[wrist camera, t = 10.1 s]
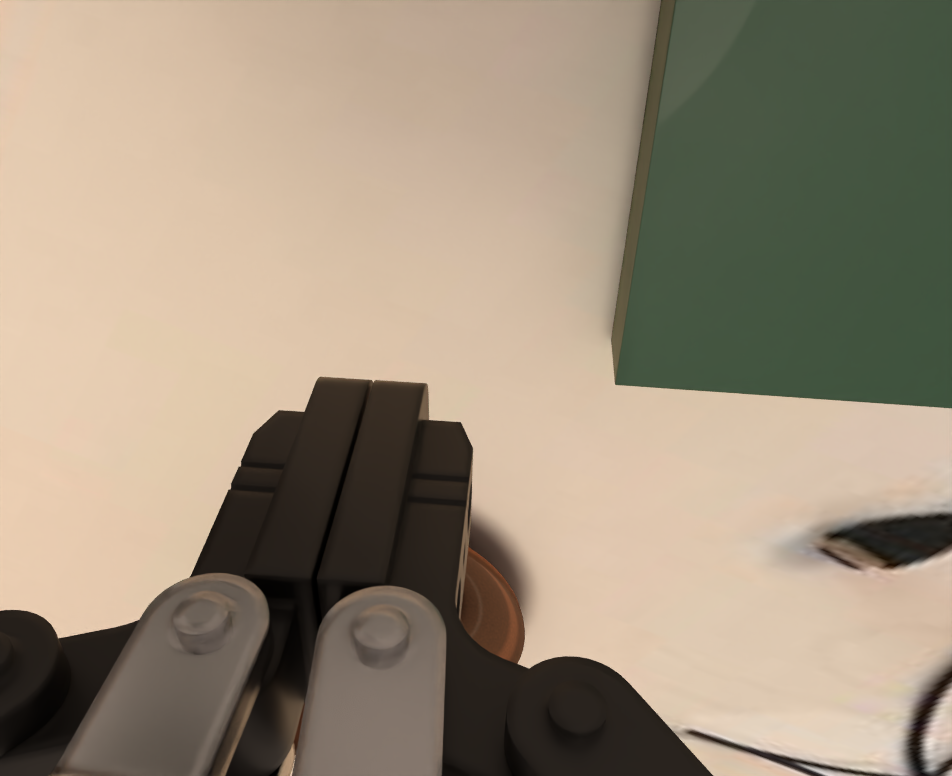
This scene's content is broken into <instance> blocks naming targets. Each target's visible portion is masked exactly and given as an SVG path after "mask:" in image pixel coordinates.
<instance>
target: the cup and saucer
mask: <svg viewBox="0 0 952 776" xmlns="http://www.w3.org/2000/svg"><path fill="white" fill-rule="evenodd" d="M460 621H461V623H462V625H463V627H464V628H465V630H466V631H467V633H468V634H469V635H470V636H471V637H472V639H473V640H475V641H476V642H477V643H478V644H479V645H480V646H481V647H483V648H484V649H486V650H488V651H489V652H491V653H493V654H495V655H497V656H499V657H501V658H503V659H506V660H508V661H511V662H513V663H516V664H517V663H518V661H519V659H520V657H521V654H522V651H523V647H524V640H525V629H524V622H523V616H522V613H521V609H520V606H519V603H518V600H517V598H516V596H515V594H514V592H513V590H512V589H511V587H510V585H509V584H508V582H507V581H506V580H505V579H504V577H503V576H502V575H501V574H500V573H499V572H498V571H497V569H496V568H495V567H494V566H493V565H492V564H490V563H489V562H488V561H487V560H486V559H484V558H483V557H482V556H481V555H479V554H478V553H476V552H475V551H474V550H472V549H471V548H469V547H468V555H467V564H466V573H465V580H464V591H463V600H462V609H461V618H460ZM304 706H305V702H304V705H303V708H302V712H301V716H300V720H299V724H298V727H297V731H296V735H295V739H294V745H295V755H296V751H297V745H298V740H299V734H300V728H301V723H302V717H303V712H304Z"/></svg>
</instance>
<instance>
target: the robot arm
mask: <svg viewBox="0 0 952 776" xmlns="http://www.w3.org/2000/svg"><path fill="white" fill-rule="evenodd" d="M472 465H473V447H472V445H471V443H470V441H469V439H468V437H467V435H466V432H465V430H464V428H463V426H462V424H461V422H448V421H433V420H429V397H428V385H427V384H426V383H411V382H396V381H380V380H375V381H374V383H373V381H372V380H362V379H346V378H331V377H319V378H318V379H317V381H316V383H315V386H314V389H313V391H312V394H311V397H310V399H309V402H308V404H307V407H306V410H305V412H296V411H281V410H279V411H278V412H277V413H275V414H274V415H273V416H272V417H271V418H270V419H269V420H268V421H267V422H266V423H264V424H263V425H262V426H261V427H260V428H259V429H258V430H257V431H256V432H255V433H253V436H252V438H251V440H250V442H249V445H248V447H247V449H246V452H245V454H244V456H243V458H242V461H241V467H238V470H237V472H236V474H235V477H234V479H233V481H232V483H231V490H228V492H227V495H226V497H225V499H224V502H223V504H222V506H221V508H220V511H219V513H218V515H217V517H216V520H215V522H214V524H213V527H212V529H211V531H210V533H209V536H208V538H207V540H206V543H205V545H204V547H203V549H202V552H201V554H200V556H199V558H198V561H197V563H196V565H195V568H194V570H193V572H192V574H191V576H190V578H187V579H185V580H182V581H180V582H178V583H176V584H174V585H172V586H171V587H169V588H168V589H166V590H165V591H163V592H162V593H161V594H160V595H158V596H157V597H156V598H155V599H154V600H153V601H152V602H151V604H150V605H149V606H148V607H147V609H146V610H145V612H144V613H143V615H142V617H141V618H140V620H138V621H135V622H132V623H130V624H127V625H123V626H119V627H115V628H110V629H104V630H99V631H94V632H89V633H84V634H79V635H74V636H69V637H64V638H59V639H58V637H57V634H56V632H55V630H54V629H53V627H52V625H51V624H50V623H49V622H48V621H47V620H46V619H45V618H43V617H41V616H39V615H37V614H34V613H31V612H28V611H21V610H4V611H0V776H290V774H291V771H292V768H293V764H294V768H293V773H292V776H713V775H712V774H711V773H710V772H709V771H708V770H707V768H706V767H705V766H704V765H703V764H702V763H701V762H700V761H699V760H698V759H697V757H696V756H695V755H694V754H693V753H692V752H691V751H690V750H689V749H688V748H687V746H686V745H685V744H684V743H683V742H682V741H681V740H680V739H679V738H678V737H677V735H676V734H675V733H674V732H673V731H672V730H671V729H670V728H669V727H668V726H667V724H666V723H665V722H664V721H663V720H662V719H661V718H660V717H659V716H658V715H657V713H656V712H655V711H654V710H653V709H652V708H651V707H650V706H649V705H648V704H647V702H646V701H645V700H644V699H643V698H642V697H641V696H640V695H639V694H638V693H637V691H636V690H635V689H634V688H633V687H632V686H631V685H630V684H629V683H628V682H627V681H626V680H625V679H624V678H623V677H622V676H621V675H620V674H618V673H617V672H615V671H614V670H613V669H611V668H610V667H608V666H606V665H604V664H602V663H599V662H596V661H593V660H591V659H587V658H581V657H568V656H565V657H557V658H552V659H548V660H545V661H542V662H540V663H538V664H536V665H534V666H533V667H531V668H530V669H528V668H526V667H523V666H521V665H518V664H516V663H513V662H511V661H508V660H506V659H503V658H501V657H499V656H497V655H495V654H493V653H491V652H489V651H488V650H486V649H484V648H483V647H481V646H480V645H479V644H478V643H477V642H476V641H475V640H473V639H472V637H471V636H470V635H469V634H468V633H467V631H466V630H465V628H464V627H463V625H462V623H461V621H460V618H461V609H462V600H463V591H464V580H465V573H466V564H467V555H468V546H469V537H470V528H471V499H472ZM304 702H305V706H304V712H303V717H302V723H301V728H300V734H299V740H298V745H297V751H296V756H295V745H294V739H295V735H296V731H297V727H298V724H299V720H300V716H301V712H302V708H303V705H304ZM294 760H295V762H294Z"/></svg>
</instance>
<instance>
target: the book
mask: <svg viewBox="0 0 952 776" xmlns="http://www.w3.org/2000/svg"><path fill="white" fill-rule="evenodd" d="M611 344H612V354H613V365H614V376H615V385H626V386H640V387H655V388H669V389H683V390H698V391H712V392H726V393H741V394H755V395H769V396H784V397H798V398H812V399H827V400H841V401H856V402H870V403H884V404H899V405H913V406H927V407H942V408H952V0H661V6H660V13H659V20H658V27H657V33H656V40H655V47H654V54H653V60H652V67H651V74H650V81H649V88H648V94H647V101H646V108H645V115H644V121H643V128H642V135H641V142H640V148H639V155H638V162H637V169H636V175H635V182H634V189H633V196H632V202H631V209H630V216H629V223H628V229H627V236H626V243H625V250H624V256H623V263H622V270H621V277H620V284H619V290H618V297H617V304H616V311H615V317H614V324H613V331H612V338H611Z"/></svg>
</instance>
